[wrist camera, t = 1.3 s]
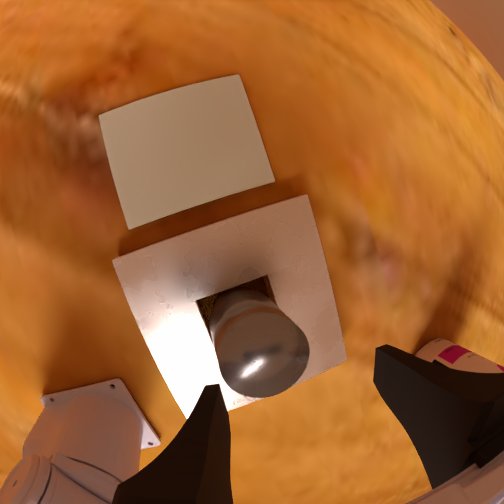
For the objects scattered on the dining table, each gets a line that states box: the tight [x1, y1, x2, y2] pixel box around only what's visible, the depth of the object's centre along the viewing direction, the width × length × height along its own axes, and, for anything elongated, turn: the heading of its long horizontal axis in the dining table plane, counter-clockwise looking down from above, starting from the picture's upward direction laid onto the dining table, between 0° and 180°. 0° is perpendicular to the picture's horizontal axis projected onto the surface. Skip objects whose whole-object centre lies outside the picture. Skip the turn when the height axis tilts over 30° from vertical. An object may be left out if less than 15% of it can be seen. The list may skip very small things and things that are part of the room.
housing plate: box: [112, 194, 347, 419], centre depth 21 cm, size 14×14×2 cm
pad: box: [99, 74, 275, 230], centre depth 19 cm, size 11×9×1 cm
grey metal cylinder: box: [209, 287, 310, 398], centre depth 18 cm, size 5×5×8 cm
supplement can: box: [415, 338, 504, 373], centre depth 21 cm, size 8×8×15 cm
